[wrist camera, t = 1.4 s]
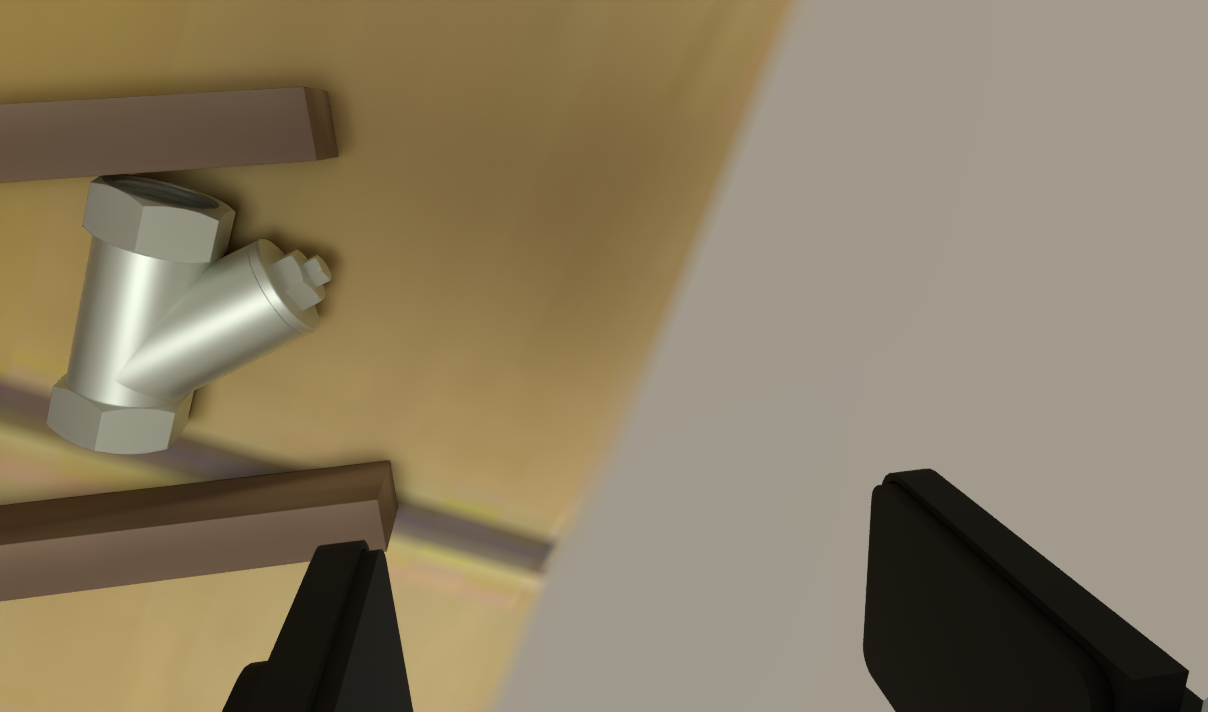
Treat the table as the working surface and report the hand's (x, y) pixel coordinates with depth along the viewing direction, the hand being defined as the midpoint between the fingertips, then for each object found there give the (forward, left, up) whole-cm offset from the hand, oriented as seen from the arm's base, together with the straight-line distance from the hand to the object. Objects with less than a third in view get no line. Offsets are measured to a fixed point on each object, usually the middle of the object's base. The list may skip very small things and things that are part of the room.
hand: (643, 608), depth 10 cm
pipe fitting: (-1, -11, -18) cm, 21 cm away
